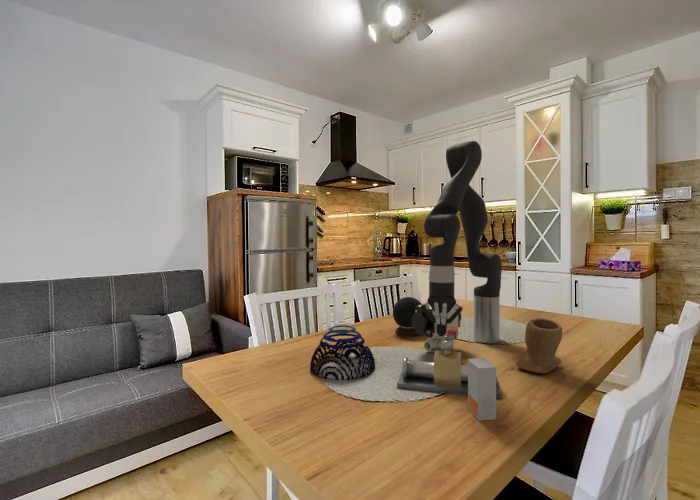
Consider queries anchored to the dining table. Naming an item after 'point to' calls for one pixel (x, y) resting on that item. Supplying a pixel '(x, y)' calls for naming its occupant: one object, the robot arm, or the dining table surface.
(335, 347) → the decorative bowl
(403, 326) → the black ball on base
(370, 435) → the dining table surface
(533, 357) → the stone cup
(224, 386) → the dining table surface
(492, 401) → the skincare box
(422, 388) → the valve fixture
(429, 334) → the ball valve
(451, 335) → the valve lever
